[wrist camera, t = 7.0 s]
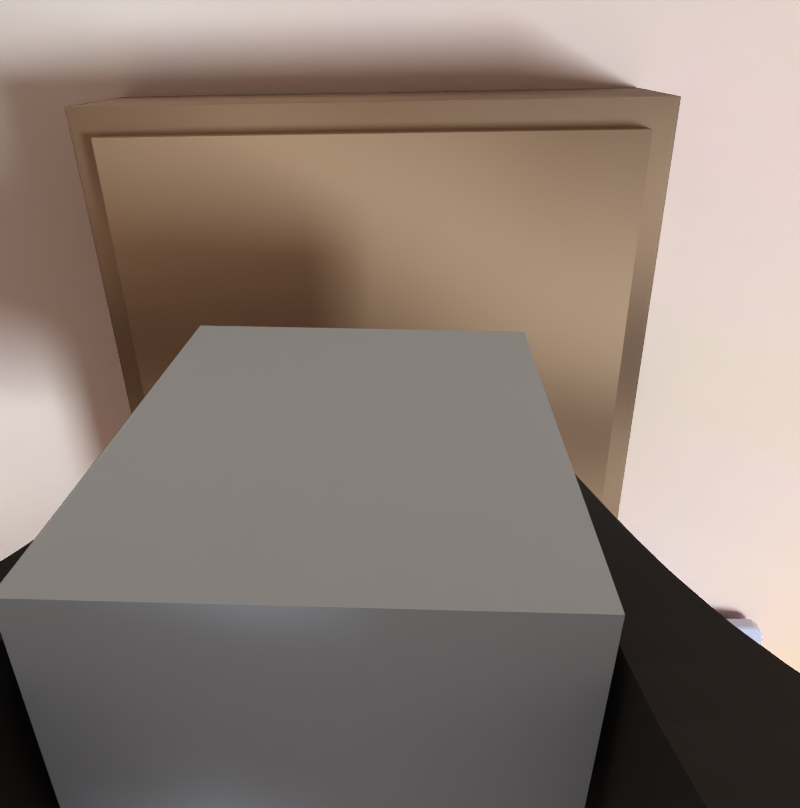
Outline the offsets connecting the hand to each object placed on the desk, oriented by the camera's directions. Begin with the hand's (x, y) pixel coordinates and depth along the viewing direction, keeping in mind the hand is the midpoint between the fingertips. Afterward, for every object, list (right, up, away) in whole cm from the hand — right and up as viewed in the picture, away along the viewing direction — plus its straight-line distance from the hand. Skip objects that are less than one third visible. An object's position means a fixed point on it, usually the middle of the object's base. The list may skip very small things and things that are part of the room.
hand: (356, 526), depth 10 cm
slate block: (0, +1, +1) cm, 2 cm away
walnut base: (0, +4, +7) cm, 8 cm away
